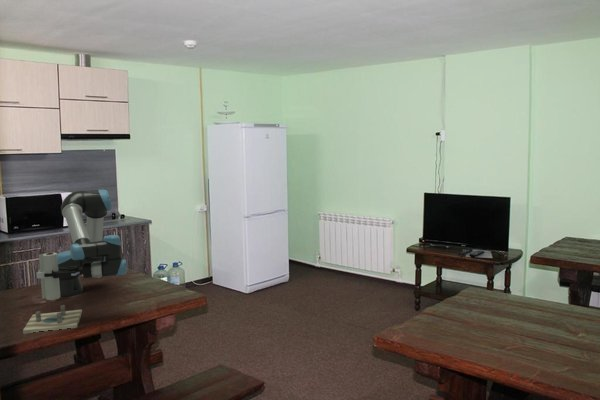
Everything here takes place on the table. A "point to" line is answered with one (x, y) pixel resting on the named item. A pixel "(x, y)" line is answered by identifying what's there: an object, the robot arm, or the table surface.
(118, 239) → the robot arm
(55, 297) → the paper towel roll
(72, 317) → the plate
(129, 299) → the table surface
